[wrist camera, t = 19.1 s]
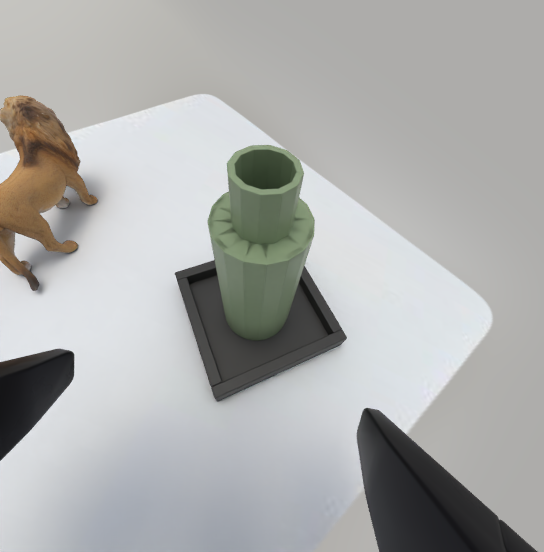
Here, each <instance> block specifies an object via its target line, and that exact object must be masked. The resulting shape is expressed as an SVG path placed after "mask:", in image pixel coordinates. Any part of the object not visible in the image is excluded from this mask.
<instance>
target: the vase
mask: <svg viewBox="0 0 544 552" xmlns="http://www.w3.org/2000/svg"><path fill="white" fill-rule="evenodd" d="M227 172H228V185H229V192H227V193H225V194H223V195H222V196H221V197H220V198H219V199H218V200H217V202H216V203H215V204H214V205H213V206H212V208H211V212H210V215H209V218H208V227H209V232H210V238H211V243H212V248H213V254H214V259H215V264H216V270H217V275H218V280H219V286H220V291H221V296H222V302H223V307H224V312H225V316H226V321H227V323H228V325H229V326H230V328H231V329H232V330H233V331H234V332H235V333H236V334H237V335H239V336H240V337H242V338H245V339H248V340H255V341H258V340H265V339H268V338H270V337H272V336H274V335H275V334H277V333H278V332H279V331H280V330H281V329H282V327H283V326H284V324H285V322H286V319H287V317H288V314H289V311H290V308H291V305H292V302H293V299H294V296H295V292H296V289H297V286H298V283H299V280H300V277H301V274H302V271H303V268H304V265H305V261H306V258H307V255H308V252H309V249H310V246H311V243H312V240H313V237H314V217H313V215H312V213H311V211H310V209H309V207H308V205H307V204H306V203H305V202H304V201H302V200H301V199H300V198H299V194H300V190H301V185H302V180H303V175H304V172H303V169H302V166H301V163H300V161H299V159H297V158H296V157H295V156H294V155H292V154H291V153H290V152H289V151H287V150H284V149H281V148H278V147H274V146H271V145H254V146H249V147H246V148H244V149H242V150H239V151H237V152H235V153H234V155H233V156H232V157H231V159H230V160H229V161H228V163H227Z"/></svg>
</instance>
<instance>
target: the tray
mask: <svg viewBox="0 0 544 552" xmlns="http://www.w3.org/2000/svg"><path fill="white" fill-rule="evenodd" d="M175 275H176V278H177V281H178V284H179V288H180V291H181V294H182V297H183V300H184V303H185V306H186V310H187V313H188V316H189V319H190V322H191V325H192V329H193V332H194V335H195V338H196V341H197V344H198V347H199V351H200V354H201V357H202V360H203V363H204V366H205V370H206V373H207V376H208V379H209V382H210V385H211V387H212V392H213V395H214V398H215V399H216V400H217V401H219V400H222V399H224V398H226V397H228V396H230V395H233V394H235V393H237V392H239V391H241V390H243V389H246V388H248V387H250V386H252V385H254V384H256V383H259V382H261V381H263V380H265V379H267V378H269V377H272V376H274V375H276V374H278V373H280V372H282V371H285V370H287V369H289V368H291V367H293V366H296V365H298V364H300V363H302V362H304V361H306V360H309V359H311V358H313V357H315V356H317V355H319V354H322V353H324V352H326V351H328V350H330V349H332V348H335V347H337V346H339V345H341V344H342V343H343V342H344V341H345V340H346V339H347V337H346V335H345V334H344V332H343V330H341V329H342V328H341V327H340V325H339V323H338V321H337V320H336V318H335V316H334V315H333V313H332V311H331V310H330V308H329V306H328V305H327V303H326V301H325V300H324V298H323V296H322V295H321V293H320V291H319V290H318V288H317V286H316V284H315V283H314V281H313V279H312V278H311V276H310V274H309V273H308V271H307V269H306V268H305V266H304V268H303V271H302V274H301V277H300V280H299V283H298V286H297V289H296V292H295V296H294V299H293V302H292V305H291V308H290V311H289V314H288V317H287V319H286V322H285V324H284V326H283V327H282V329H281V330H280V331H279V332H278V333H277V334H275V335H274V336H272V337H270V338H268V339H265V340H258V341H255V340H248V339H245V338H242V337H240V336H239V335H237V334H236V333H235V332H234V331H233V330H232V329H231V328H230V326H229V325H228V323H227V321H226V316H225V312H224V307H223V302H222V296H221V291H220V286H219V280H218V275H217V270H216V264H215V260H214V261H211V262H208V263H204V264H201V265H198V266H195V267H191V268H188V269H185V270H182V271H179V272H176V273H175Z"/></svg>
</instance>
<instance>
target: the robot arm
mask: <svg viewBox="0 0 544 552" xmlns="http://www.w3.org/2000/svg"><path fill="white" fill-rule="evenodd" d="M73 377H74V353H73V352H72V351H69V350H64V349H55V350H50V351H46V352H42V353H38V354H33V355H29V356H25V357H21V358H16V359H12V360H8V361H4V362H0V461H1V460H2V459H3V458H4V457H5V456H6V455H7V454H8V453H9V452H10V451H11V450H12V449H13V448H14V447H15V446H16V445H17V444H18V443H19V442H20V441H21V440H22V438H23V437H24V436H25V435H26V434H27V433H28V432H29V431H30V430H31V429H32V428H33V427H34V426H35V425H36V423H37V422H38V421H39V420H40V419H41V418H42V416H43V415H44V414H45V413H46V412H47V411H48V409H49V408H50V407H51V406H52V405H53V403H54V402H55V401H56V400H57V399H58V398H59V396H60V395H61V394H62V393H63V392H64V390H65V389H66V388H67V387H68V386H69V385H70V383H71V382H72V380H73ZM357 443H358V449H359V456H360V463H361V470H362V476H363V483H364V489H365V494H366V499H367V504H368V508H369V512H370V516H371V520H372V524H373V528H374V532H375V536H376V540H377V544H378V548H379V552H537V551H536V550H535V549H534V548H533V547H531V546H530V545H529V544H528V543H526V542H525V540H523V539H522V538H521V537H520V536H519V535H518V534H517V533H516V532H514V531H513V530H512V529H511V528H510V527H509V526H508V525H507V524H506V523H505V522H503V521H502V520H499V519H498V517H497V515H495V514H494V513H493V512H492V511H491V510H490V509H489V508H488V507H487V506H485V505H484V504H483V503H482V502H481V501H480V500H479V499H478V498H476V497H475V496H474V495H473V494H472V493H471V492H470V491H468V490H467V489H466V488H465V487H464V486H463V485H462V484H461V483H460V482H459V481H457V480H456V479H455V478H454V477H453V476H452V475H451V474H450V473H448V472H447V471H446V470H445V469H444V468H443V467H442V466H441V465H440V464H438V463H437V462H436V461H435V460H434V459H433V458H432V457H431V456H430V455H428V454H427V453H426V452H425V451H424V450H423V449H422V448H421V447H419V446H418V445H417V444H416V443H415V442H414V441H412V439H411V438H409V437H408V436H407V435H406V434H405V433H404V432H403V431H402V430H401V429H399V428H398V427H397V426H396V425H395V424H394V423H393V422H392V421H390V420H389V419H388V418H387V417H386V416H385V415H384V414H383V413H382V412H380V411H379V410H376V409H370V408H365V409H364V411H363V413H362V416H361V420H360V423H359V426H358V430H357Z"/></svg>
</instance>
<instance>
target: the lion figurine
mask: <svg viewBox="0 0 544 552" xmlns="http://www.w3.org/2000/svg"><path fill="white" fill-rule="evenodd" d="M0 120H1V122H3V123H4V124H5V126H6V128H7V130H8V131H9V134H10V137H11V139H12V140H13V141H14V143H15V146H16V148H17V150H18V152H19V155H20V161H19V163H18V165H17V167H16V168H15V170H14V171H13V173H12V174H11V175H10V176H9V178H8V179H6V180H5V181H4V182H3V183H1V184H0V260H1V262H2V263H3V264H4V265H5V266H7V267H8V268H9V269H10V270H11V271H12V272H13V273H15V274H18V275H22V274H23V275H24V276H25V277H26V279H27V280H28V282H29V284H30V287H31V289H32V290H33V291H36V290H37V289H38V286H39V282H38V280H37V279H36V277H35V276H34V275H33V274H32V273H31V272H30V271H29V270H30V268H31V265H30V264H29V263H28V262H27V261H21V262H20V261H19V260H18V259H17V258H16V257H15V255H14V245H15V232H16V233H18V234H22V235H24V236H27V237H30V238H33V239H36V240H38V241H39V242H41V243H42V244H43V245H44V247H45V249H46V250H47V251H52V252H63V253H70V252H73V251H74V250H76V249H77V247H78V245H77V243H76V242H74V241H71V240H68V241H65V242H64V243H63V244H61V243H59V242H57V241H56V240H55V238H54V236H53V234H52V232H51V229H50V227H49V224H48V223H47V221H46V220H45V219H44V218H43V217H42V216H41V215H40V214H39V213H43V212H46V211H48V210H50V209H51V208H52V207H54V206H55V205H56V206H57V207H58V208H66V207H67V206H68V205H69V200H68V199H67V198H64V197H63V194H64V192H65V188H66V186H69V187H71V188H73V189H74V190H75V191H76V192H77V194H78V195H79V197H80V199H81V201H82V202H84V203H85V204H87V205H92V204H95V203H97V201H98V200H97V198H96V197H95V196H93V195H89V194H88V191H87V189H86V186H85V183H84V181H83V179H82V178H81V177H80V176H79V174H78V173H77V171H78V166H79V164H80V160H79V157H78V156H77V151H76V149H75V147H74V144H73V143H72V141H71V138H70V136H69V135H68V134H67V133H66V131H65V129H64V126H63V124H62V123H61V122H60V120H59V119H58V118H57V117H56V115H55V113H54V112H53V110H52V109H50V108H47V107H46V106H45V105H43V104H42V103H40V102H38V101H36V100H35V99H34V98H31V97H28V96H16V97H9V98H6V99H5V102H4V108H1V109H0Z"/></svg>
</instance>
